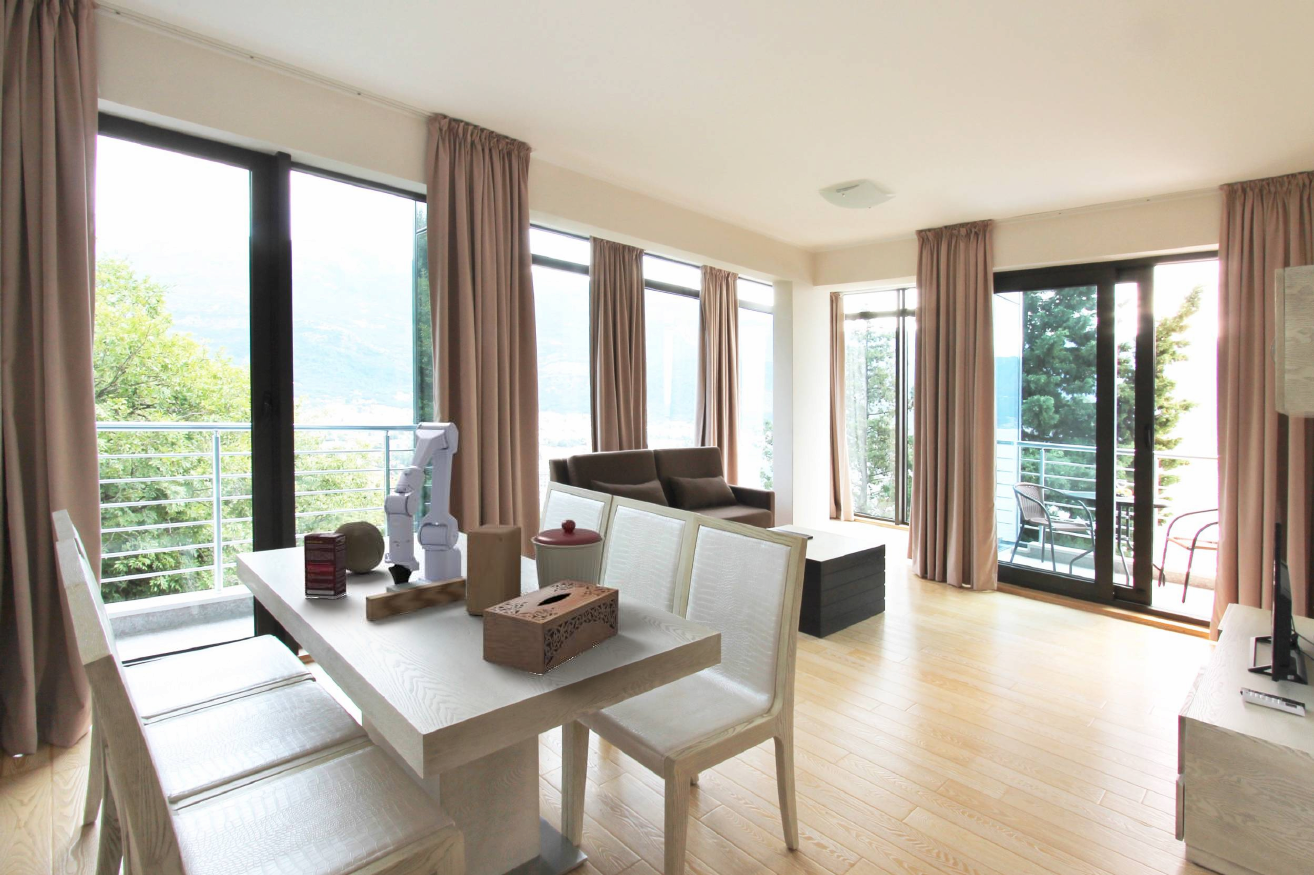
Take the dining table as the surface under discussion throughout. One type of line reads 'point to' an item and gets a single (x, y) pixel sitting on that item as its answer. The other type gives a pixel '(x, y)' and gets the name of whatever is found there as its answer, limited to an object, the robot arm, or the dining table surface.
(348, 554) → the cantaloupe
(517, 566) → the wooden block
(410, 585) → the block
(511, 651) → the tissue box cover
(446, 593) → the board
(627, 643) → the dining table surface
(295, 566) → the dining table surface
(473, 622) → the dining table surface
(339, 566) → the supplement box
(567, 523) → the canister
